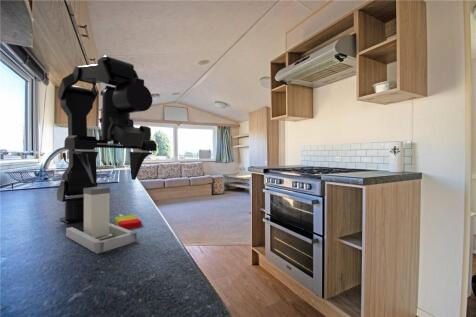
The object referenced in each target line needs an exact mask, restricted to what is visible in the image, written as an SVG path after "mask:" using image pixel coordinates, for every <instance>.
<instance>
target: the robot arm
mask: <svg viewBox="0 0 476 317" xmlns="http://www.w3.org/2000/svg"><path fill="white" fill-rule="evenodd" d="M134 67H135V66H134V64H132V63H129V62H126V61H124V60H120V59H117V58H115V57H114V58H113V57H111V56H108V55H103V56H102V57H99V58H98V59H97V64H89V65H82V66H81V65H75V66H74V69H73V71H72V73H70V74H68V75H67V76H65V77H64V78H62V79H61V82H60V84H59V87H58V90H57V99H58V100H59V102H60V104H59V105H60V108H61V109H62V111H63V112H64V114H65V116H67V135H68V136H66V137H65V139H64V149H65V150H68V166H67V168H65V170H64V172H63V173H62V176H61V177H62V178H61V181H60V183H59V185H58V187H57V188H58V189H57V191H56V200H57V201H58V202H60V203H64V217H59V220H60V221H61V222H64V223H66V224H72V223H73V224H74V223H78V222H82V221H83V222H84V188H89V187H98V180H97V178H98V174H97V173H98V172H97V171H98V170H97V157H98V156H99V155H98V154H99V151H95V148H99V149H128V150H129V149H130V150H131V149H132V150H133V151H129V161H130V162H129V163H130V176H131V180H132V181H133V180H137V176H138V175H139V172H140V169H141V167H142V164H143V163H144V160H146V159H147V157H148V156H151V155H153V152H158V145H157V142H156V141H155V140H154V139H153V140H152V139H151V137H152V129H151V127H149V126H146V125H140V126H139V127H135V126H134V119H132V118H131V114H132V113H138V112H139V113H140V112H145V111H147V110H149V109H150V108H151V107H152V105H153V96H152V93H151V91H150V90H149V88H148V87H147V86H146V85H145V80H144V79H142V78H140V77H139V76H138V72H137V71H136V70H135V68H134ZM79 82H82V83H87V84H92V87H91V89H90V88H85V87H81V86H76V84H77V83H79ZM97 84H106V85H105V88H104V89H102V90H101V91H100V92H99V93H100V94H99V95H100V96H102V105H101V106H102V107H101V108H102V111H101V113H102V114H101V115H102V116H101V117H100V118H99V123H101V135H99V137H98V139H97V137H96V136H94V135H93V136H91V135H89V136H88V115H89V113H91V111H92V110H93V109H94V107H93V106H94V103H95V101H96V99H97V97H98V91H97V88H96V85H97ZM130 118H131V119H130ZM109 142H110V143H109ZM111 142H112V143H111Z"/></svg>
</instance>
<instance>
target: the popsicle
mask: <svg viewBox="0 0 476 317" xmlns="http://www.w3.org/2000/svg"><path fill="white" fill-rule="evenodd" d="M113 222H114V223H115V225H116V224H117V226H119V227H122V228H125V229H127V230H131V229H134V228H135V229H136V227H137V228H140V227H142V220H141V219H139V218H138V217H137V216H136V215H135V214H130V215H123V214H122V213H120V214H118V216H115V217H113Z"/></svg>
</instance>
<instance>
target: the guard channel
mask: <svg viewBox="0 0 476 317" xmlns="http://www.w3.org/2000/svg"><path fill="white" fill-rule="evenodd" d="M65 233H66V234H65V235H66V238H69V239H70V240H72V241H74V242H76V243H77V244H79V245H80V246H82V247H84V248H86V249H88V250H89V251H91V252H93V253H95V254H97V255H98V254H101V253H104V252H108V251H111V250H113V249H117V248H120V247H124V246H126V245H127V246H128V245H130V244H133V243H136V242H137V232H135V231H132V230H131V229H125V228H122V227H119V226H117V225H116V224H113V223H112V222H109V234H108V235H104V236H100V237H96V238H94V237H92V236H90V235H88V234H86V233H84V231H81V230H79V229H77V228H75V227H73V226H70V227H66V229H65Z"/></svg>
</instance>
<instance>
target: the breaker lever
mask: <svg viewBox="0 0 476 317" xmlns="http://www.w3.org/2000/svg"><path fill="white" fill-rule="evenodd" d="M110 194H111V187H109V186H108V187H107V186H97V187H89V188H84V221H83V233H86V234H88V235H90V236H92V237H94V238H96V237H100V236H104V235H108V234H109V223H110Z"/></svg>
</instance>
